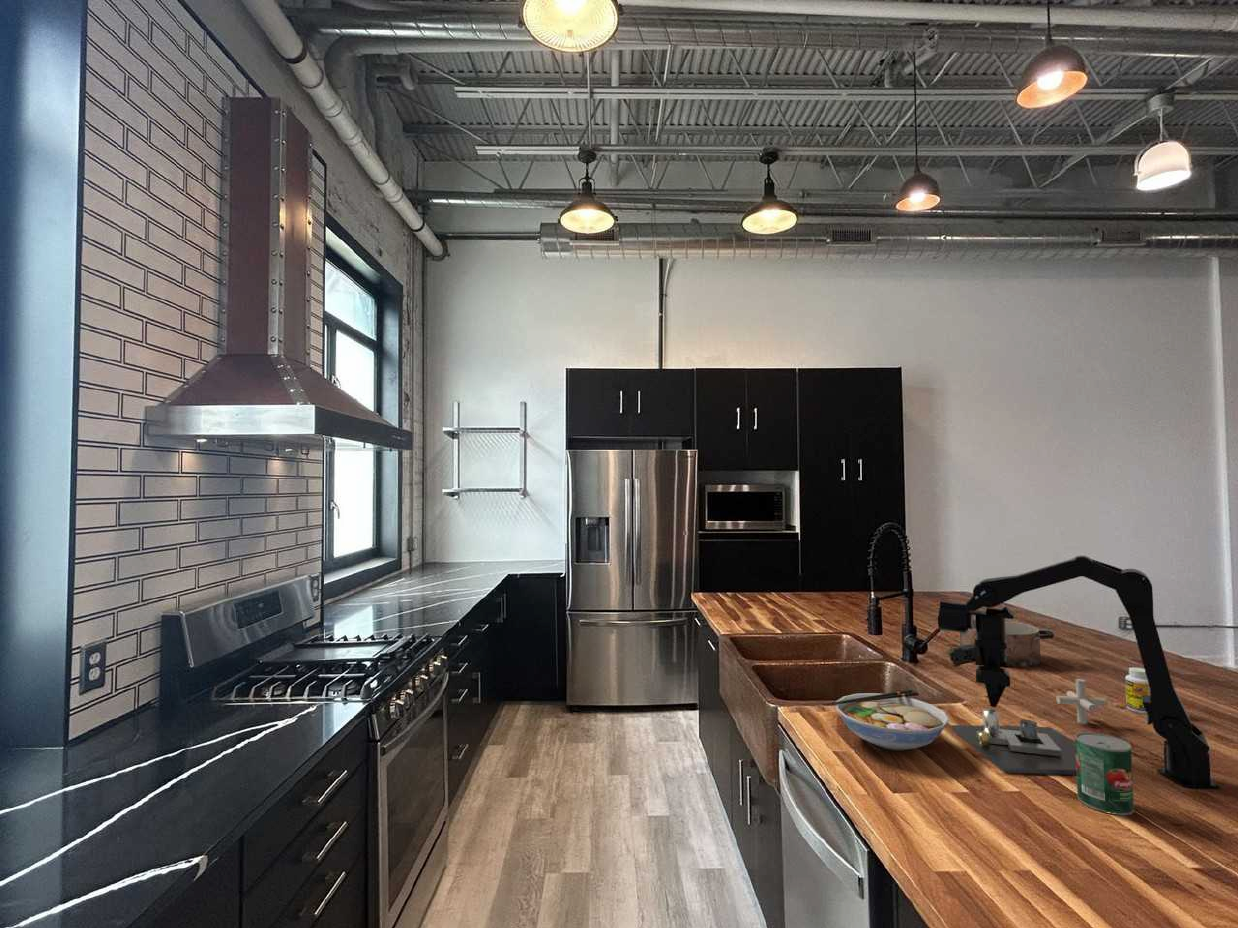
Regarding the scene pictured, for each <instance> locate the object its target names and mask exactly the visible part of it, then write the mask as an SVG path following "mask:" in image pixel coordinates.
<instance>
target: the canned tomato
mask: <svg viewBox="0 0 1238 928" xmlns="http://www.w3.org/2000/svg"><path fill="white" fill-rule="evenodd" d="M1074 738H1075V740H1074V742H1075V743H1076V744H1075V746H1076V769H1077V775H1076V791H1077V792H1076V793H1077V795H1076V797H1078V798H1077V799H1079V800H1080V801H1081V802H1083V803H1084V804H1085V805H1084V804H1083V803H1082V804H1083V805H1084V806H1086V805H1087V806H1086V807H1088V806H1089V807H1088V808H1090V807H1091V808H1090V809H1092V808H1093V810H1095V809H1097V810H1100V811H1104V812H1110V813H1113V814H1114V813H1115V814H1120V815H1119V816H1130V815H1132V814H1134V812H1135V807H1134V785H1133V765H1132V764H1133V760H1132V759H1133V757H1132V745H1131V744H1130V743H1129V742H1127V741H1125V740H1123V739H1121V738H1119V737H1115V736H1113V735H1110V734H1109V735H1108V734H1104V733H1097V732H1091V731H1090V732H1088V731H1086V732H1077V733H1076V734H1074ZM1079 800H1078V801H1079ZM1080 801H1079V802H1080ZM1081 802H1080V803H1081ZM1097 810H1096V811H1097ZM1100 811H1099V812H1100ZM1104 812H1103V813H1104ZM1113 814H1112V815H1113Z"/></svg>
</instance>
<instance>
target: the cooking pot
mask: <svg viewBox="0 0 1238 928" xmlns="http://www.w3.org/2000/svg"><path fill="white" fill-rule="evenodd" d="M1005 632H1006V648H1007V649H1006V659H1007V669H1008V668H1013V669H1026V668H1027V667H1028V668H1027V669H1030V668H1035V667H1037V666H1039V665H1040V663H1041V640H1047V639H1053V638H1055V633H1054V632H1053V631H1051V630H1040V629H1039V628H1038V627H1035V626H1034V625H1031V624H1026V623H1021V622H1017V621H1009V620H1005ZM975 639H976V618H974V625H973V629H968V633H961V632H959V641H960V642H959V643H960V644H959V645H960V646H965V645H971V644H975ZM960 646H959V647H960ZM1029 667H1030V668H1029Z"/></svg>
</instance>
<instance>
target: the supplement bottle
mask: <svg viewBox="0 0 1238 928" xmlns="http://www.w3.org/2000/svg"><path fill="white" fill-rule="evenodd" d="M1141 695H1149V696H1150V691H1149V683H1148V679H1147V676H1146V672H1145V669H1144V668H1141V667H1129V668H1128V674H1127V675H1125V703H1126V708H1127V709H1128V710H1130V711H1132V712H1134V713H1139V714H1142V715H1143V714H1144V715H1146V710H1145V708H1144V705H1143V703H1142V697H1141Z"/></svg>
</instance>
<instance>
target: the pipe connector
mask: <svg viewBox="0 0 1238 928" xmlns="http://www.w3.org/2000/svg"><path fill="white" fill-rule="evenodd" d="M1086 685H1087V684H1086V680H1085V679H1082V678H1076V679H1075V690H1076V691H1075V692H1074V691H1072V690H1068V691H1066V694H1065V695H1057V696H1056V697H1055V698H1056V703H1057V704H1058V705H1073V706H1074V705H1076V717H1077V718H1076V719H1077V723H1078V724H1082V725H1087V724H1088V714H1087V711H1088V712H1090V713H1093V714H1094V713H1097V712H1098V711H1099V710H1098V709H1099V708H1098V707H1108V700H1107V699H1106V698H1104V697H1103V698H1102V697H1087V688H1086Z"/></svg>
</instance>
